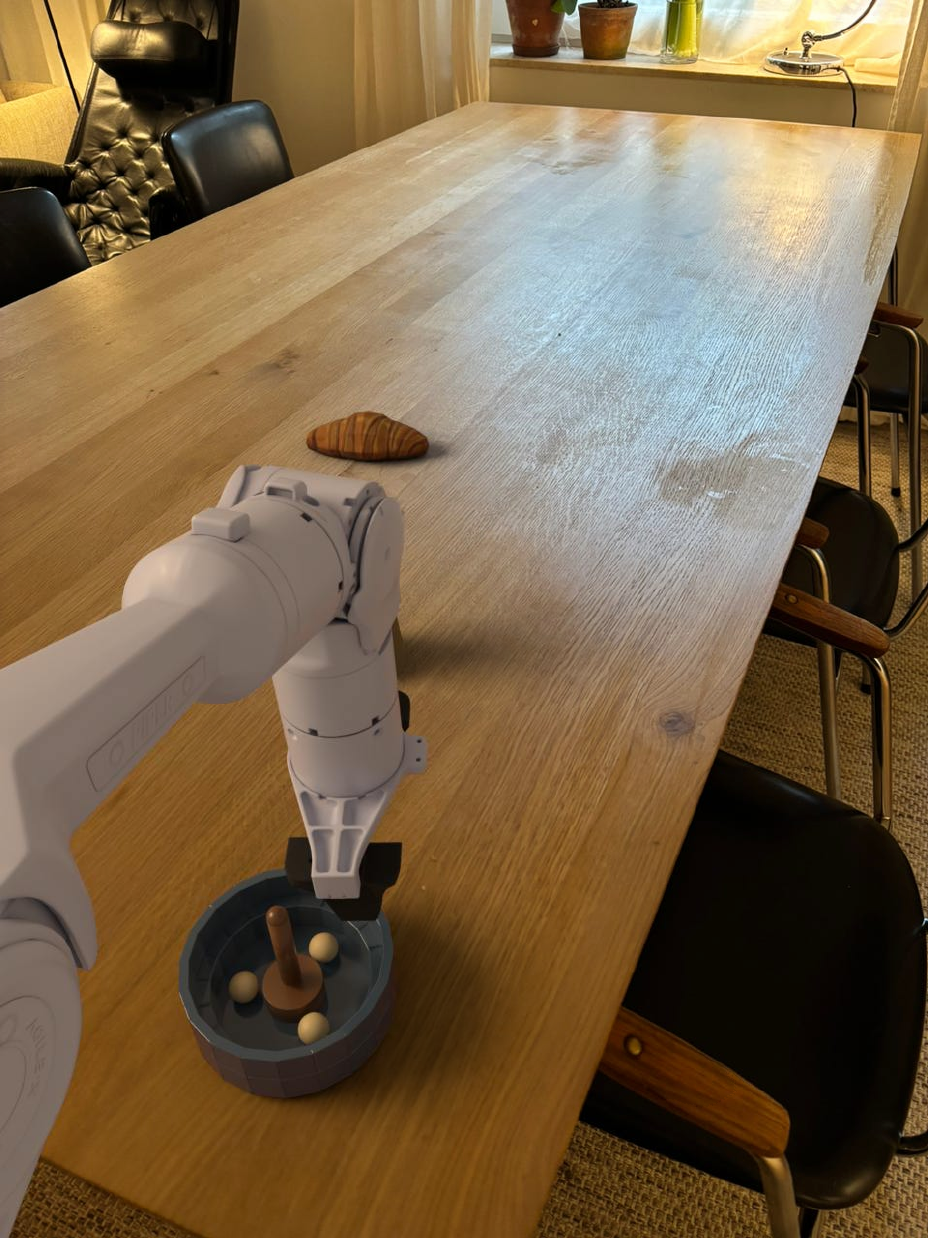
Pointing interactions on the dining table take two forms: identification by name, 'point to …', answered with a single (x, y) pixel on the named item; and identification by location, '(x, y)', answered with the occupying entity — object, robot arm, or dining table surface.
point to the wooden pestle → (290, 974)
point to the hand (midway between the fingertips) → (364, 854)
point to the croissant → (367, 438)
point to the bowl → (247, 1032)
